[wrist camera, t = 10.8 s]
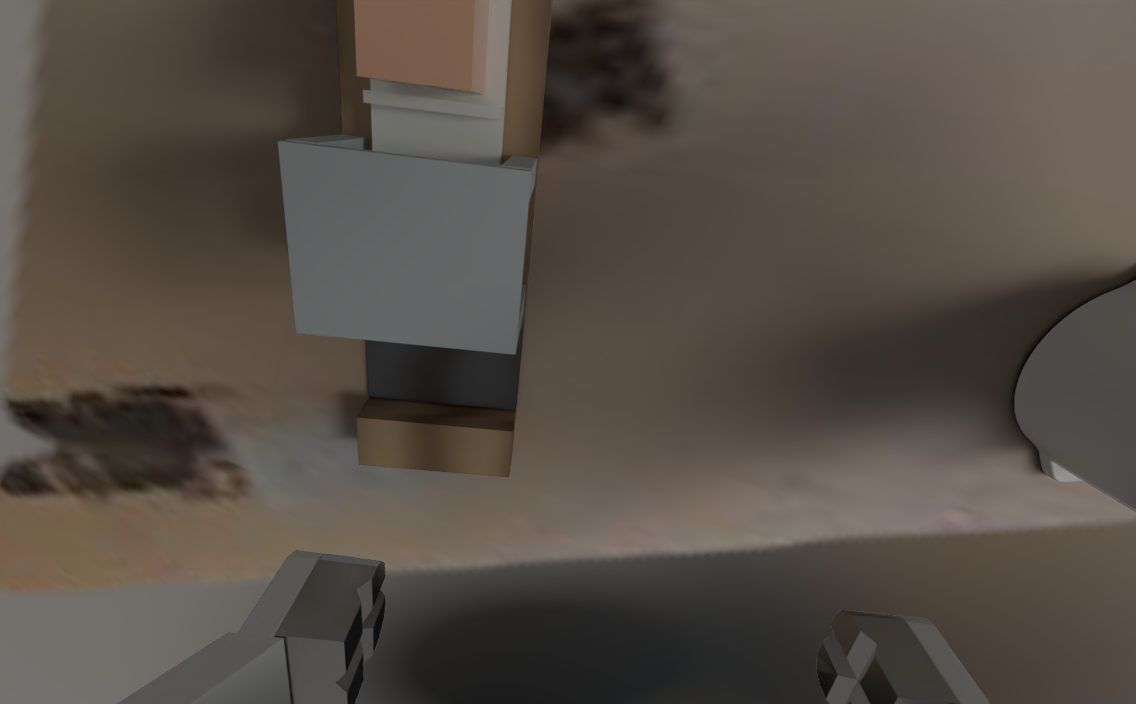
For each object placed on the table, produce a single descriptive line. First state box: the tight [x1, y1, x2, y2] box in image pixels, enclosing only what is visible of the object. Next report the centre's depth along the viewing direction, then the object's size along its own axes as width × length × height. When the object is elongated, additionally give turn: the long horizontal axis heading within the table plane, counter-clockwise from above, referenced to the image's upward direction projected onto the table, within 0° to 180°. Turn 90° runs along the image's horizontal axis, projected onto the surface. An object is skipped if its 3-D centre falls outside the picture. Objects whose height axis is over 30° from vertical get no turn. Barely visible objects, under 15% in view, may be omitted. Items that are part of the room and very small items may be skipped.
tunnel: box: [278, 134, 537, 355], centre depth 29 cm, size 11×9×8 cm
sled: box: [363, 0, 512, 166], centre depth 25 cm, size 7×21×6 cm, turn 173°
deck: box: [336, 0, 552, 477], centre depth 33 cm, size 11×39×3 cm, turn 173°
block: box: [354, 0, 490, 95], centre depth 25 cm, size 5×5×5 cm
